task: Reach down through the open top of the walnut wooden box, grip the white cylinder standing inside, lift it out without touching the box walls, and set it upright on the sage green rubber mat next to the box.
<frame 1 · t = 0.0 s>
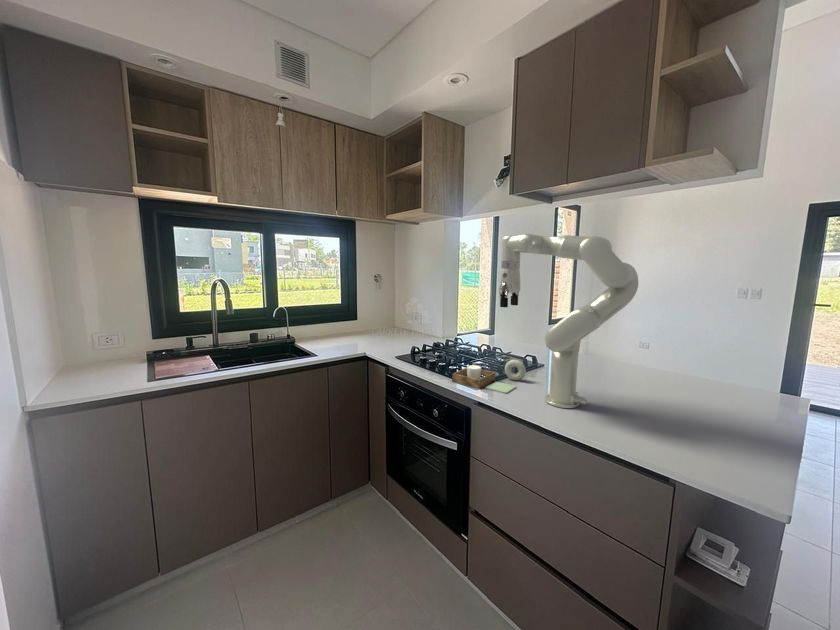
hand: (509, 306, 144), 37 cm above the counter, tool pointing down, fingers open, 9 cm apart
white cylinder: (473, 381, 159), resting in walnut box
walnut box: (473, 381, 159), on the counter
green mat: (500, 388, 150), on the counter
donut: (514, 380, 161), on the counter
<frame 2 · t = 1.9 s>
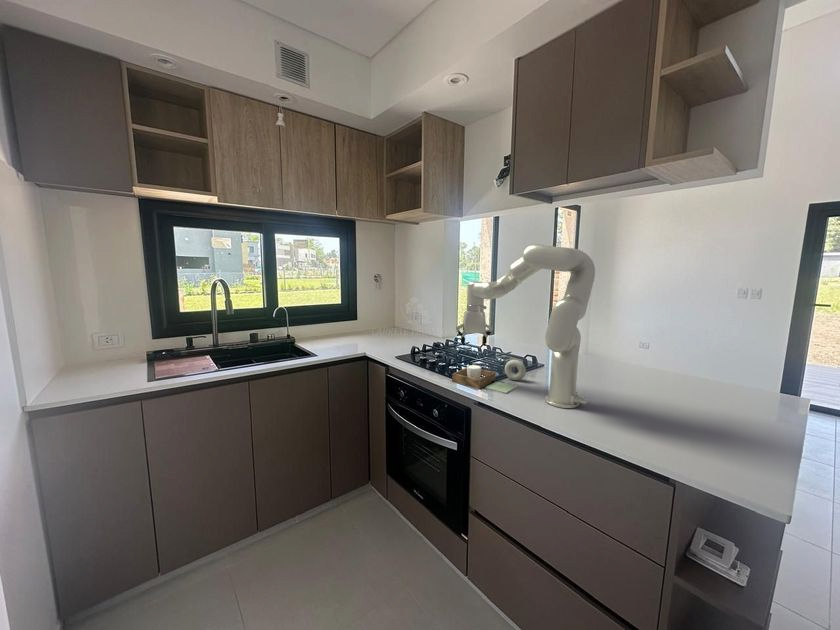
hand: (473, 345, 157), 17 cm above the counter, tool pointing down, fingers open, 9 cm apart
nothing on the counter moved.
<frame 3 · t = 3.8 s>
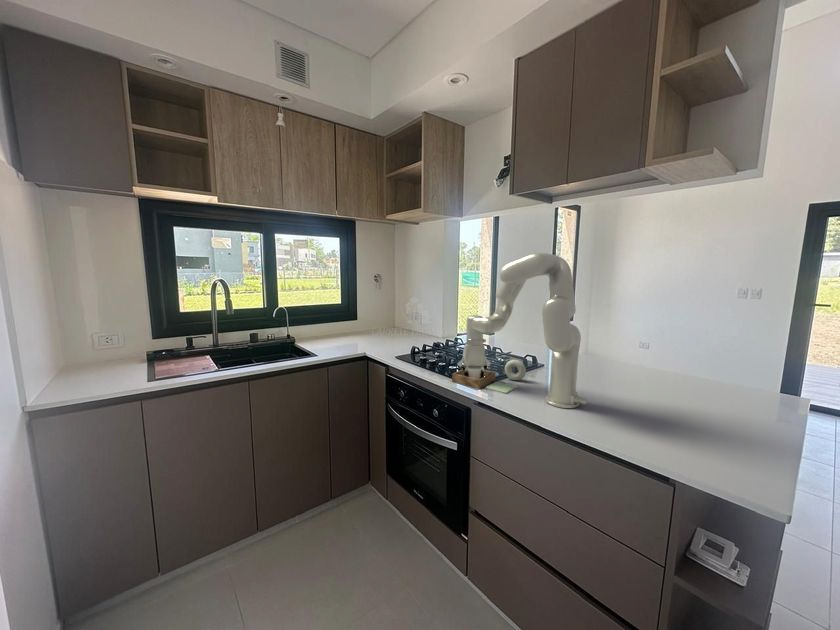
hand: (473, 378, 159), 1 cm above the counter, tool pointing down, fingers closed on white cylinder, 6 cm apart
white cylinder: (473, 381, 159), resting in walnut box, touching gripper
everything else where it was.
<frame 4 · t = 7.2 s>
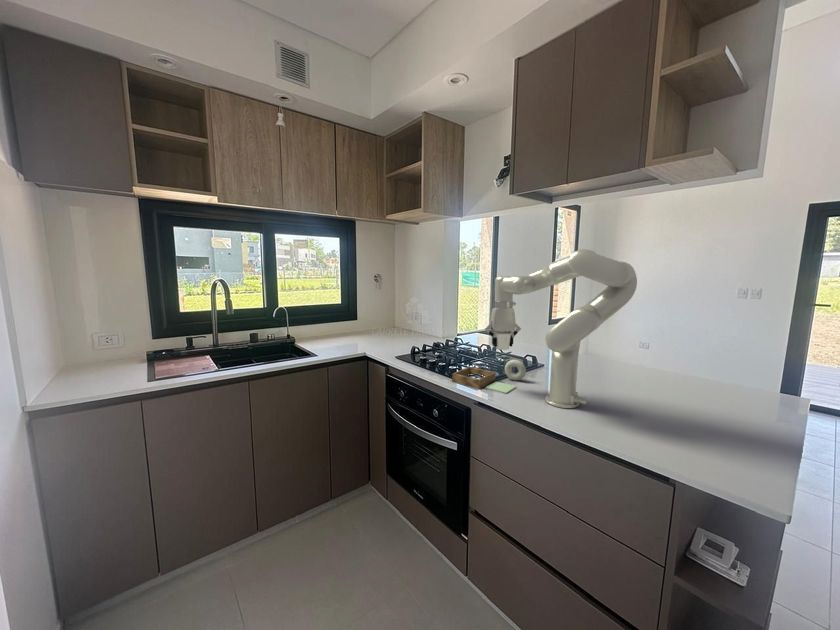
hand: (502, 345, 147), 19 cm above the counter, tool pointing down, fingers closed on white cylinder, 6 cm apart
white cylinder: (502, 348, 147), point 18 cm above the counter, touching gripper
everything else where it was.
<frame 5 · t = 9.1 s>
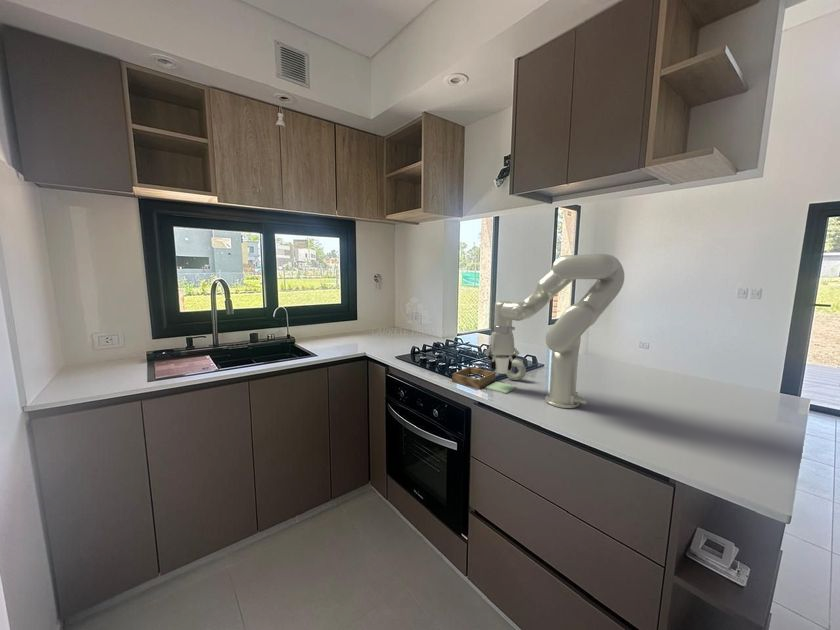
hand: (501, 369, 149), 9 cm above the counter, tool pointing down, fingers closed on white cylinder, 6 cm apart
white cylinder: (500, 372, 149), point 7 cm above the counter, touching gripper
everything else where it was.
when the fingers open (3 cm above the counter, at t = 10.7 s): white cylinder drops 2 cm, resting on green mat.
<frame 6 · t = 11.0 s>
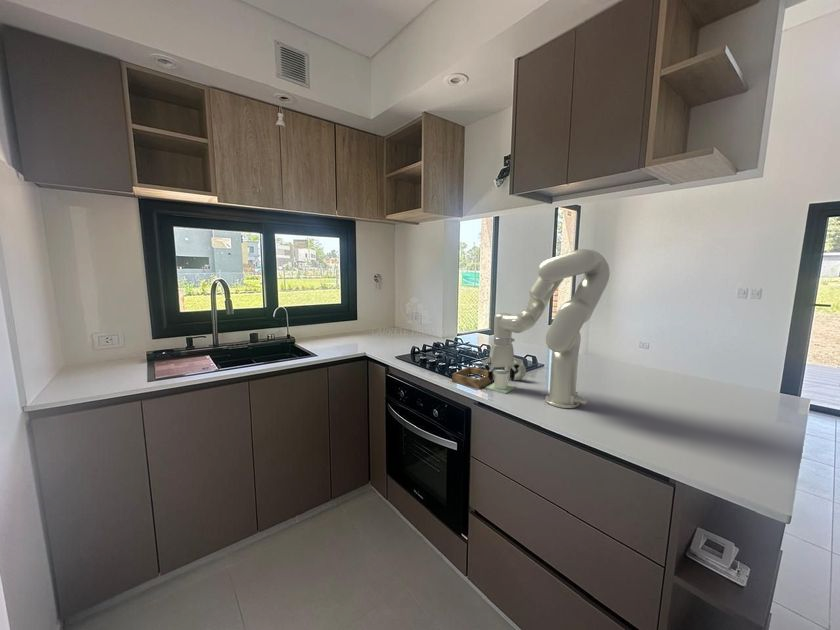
hand: (501, 379, 149), 4 cm above the counter, tool pointing down, fingers open, 9 cm apart
white cylinder: (500, 387, 150), resting on green mat
everything else where it was.
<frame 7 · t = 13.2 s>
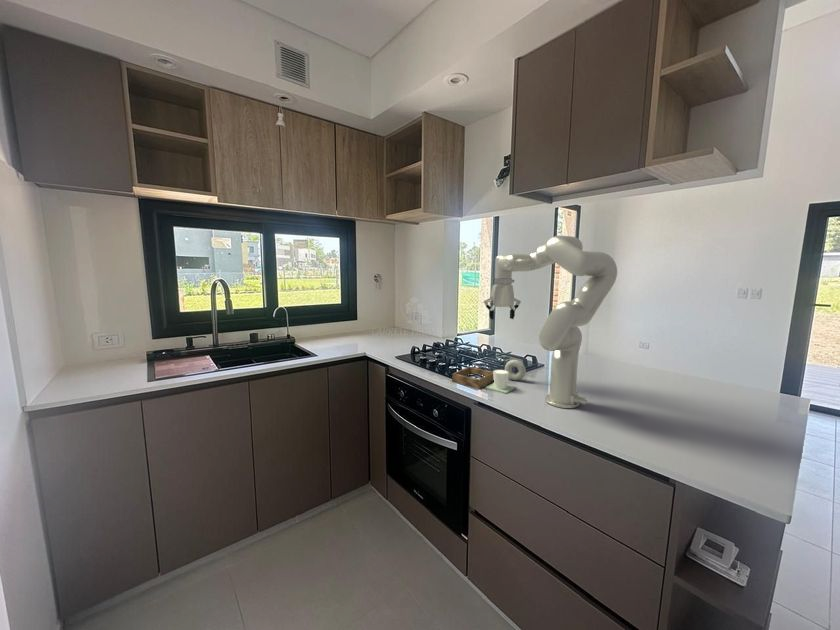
hand: (501, 318, 158), 29 cm above the counter, tool pointing down, fingers open, 9 cm apart
nothing on the counter moved.
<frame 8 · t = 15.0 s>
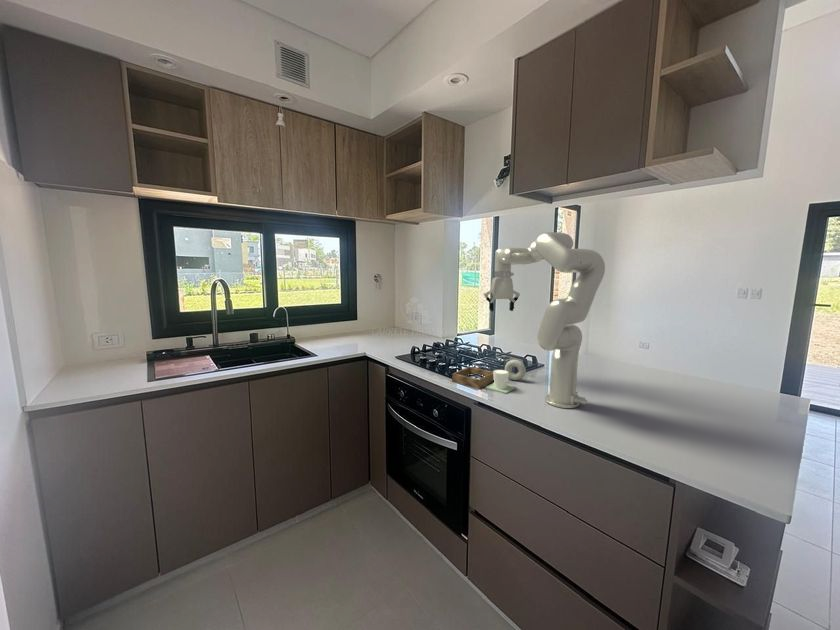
hand: (501, 310, 163), 32 cm above the counter, tool pointing down, fingers open, 9 cm apart
nothing on the counter moved.
at the end: white cylinder 0.2 cm off-centre on the green mat, point 0.4 cm above the green mat's base; white cylinder tilted 0°; walnut box moved 0.0 cm from its start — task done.
